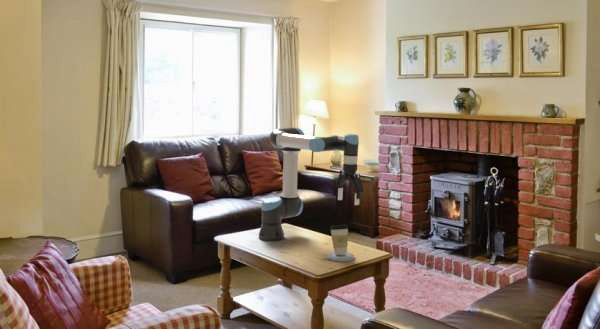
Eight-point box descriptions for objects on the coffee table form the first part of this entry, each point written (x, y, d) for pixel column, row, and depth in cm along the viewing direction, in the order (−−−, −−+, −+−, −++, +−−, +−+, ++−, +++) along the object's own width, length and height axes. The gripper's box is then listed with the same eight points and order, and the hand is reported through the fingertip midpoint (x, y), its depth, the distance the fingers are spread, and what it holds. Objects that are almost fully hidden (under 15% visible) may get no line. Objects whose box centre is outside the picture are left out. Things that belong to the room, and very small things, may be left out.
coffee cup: (349, 254, 298) (347, 225, 300) (330, 255, 300) (328, 226, 301) (351, 252, 308) (349, 224, 309) (332, 253, 310) (330, 225, 311)
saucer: (328, 253, 312) (329, 251, 312) (355, 255, 310) (355, 252, 310) (326, 261, 298) (326, 258, 298) (353, 262, 296) (353, 260, 296)
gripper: (371, 166, 301) (369, 206, 305) (340, 159, 321) (338, 197, 324) (360, 167, 297) (358, 207, 300) (329, 160, 317) (328, 198, 320)
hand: (348, 202), depth 312 cm, fingers open, 13 cm apart
